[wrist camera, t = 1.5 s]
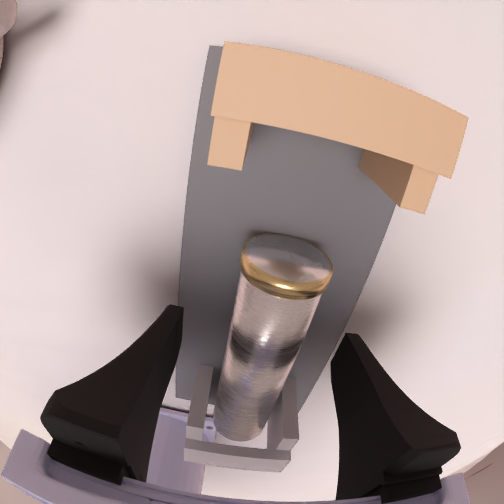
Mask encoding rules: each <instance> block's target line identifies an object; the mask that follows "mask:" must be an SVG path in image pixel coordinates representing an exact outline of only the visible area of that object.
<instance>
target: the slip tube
mask: <svg viewBox="0 0 504 504" xmlns="http://www.w3.org/2000/svg"><path fill="white" fill-rule="evenodd" d="M239 267H240V270H241V272H240V277H239V282H238V287H237V293H236V298H235V303H234V308H233V313H232V318H231V323H230V328H229V334H228V339H227V344H226V349H225V354H224V360H223V365H222V370H221V375H220V380H219V386H218V391H217V396H216V402H215V407H214V412H213V423H214V426H215V427H216V429H217V430H218V432H219V433H220V434H222V435H223V436H224V437H226V438H228V439H231V440H234V441H248V440H251V439H253V438H255V437H257V436H258V435H259V434H260V433H261V432H262V430H263V428H264V426H265V424H266V422H267V420H268V418H269V416H270V414H271V412H272V409H273V407H274V405H275V403H276V401H277V399H278V397H279V395H280V392H281V390H282V388H283V386H284V384H285V381H286V379H287V377H288V375H289V372H290V370H291V368H292V366H293V363H294V361H295V359H296V356H297V354H298V352H299V349H300V347H301V345H302V342H303V340H304V337H305V335H306V333H307V330H308V328H309V325H310V323H311V320H312V318H313V315H314V313H315V310H316V308H317V305H318V302H319V300H320V297H321V295H322V293H324V292H325V290H326V289H327V287H328V284H329V282H330V279H331V276H332V274H333V270H334V267H333V263H332V261H331V260H330V258H329V257H328V256H327V255H326V254H325V253H324V252H323V251H322V250H321V249H319V248H318V247H316V246H314V245H313V244H311V243H308V242H306V241H304V240H301V239H298V238H295V237H292V236H287V235H281V234H261V235H256V236H253V237H251V238H249V239H248V240H246V241H245V243H244V244H243V247H242V252H241V257H240V262H239Z"/></svg>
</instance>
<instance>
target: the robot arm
mask: <svg viewBox="0 0 504 504" xmlns="http://www.w3.org/2000/svg"><path fill="white" fill-rule="evenodd" d="M183 314H184V307H180V306H176V305H171V304H170V305H168V306H167V307H166V309H165V310H164V311H163V312H162V314H161V315H160V316H159V317H158V318H157V320H156V321H155V322H154V323H153V324H152V325H151V326H150V327H149V328H148V329H147V330H146V331H145V332H144V333H143V334H142V335H141V336H140V337H139V338H138V339H137V340H136V341H135V342H134V343H133V344H132V345H131V346H130V347H129V348H127V349H126V350H125V351H124V352H123V353H121V354H120V355H119V356H117V357H116V358H115V359H113V360H112V361H111V362H109V363H108V364H106V365H105V366H103V367H102V368H100V369H99V370H97V371H95V372H94V373H92V374H90V375H88V376H86V377H84V378H83V379H81V380H79V381H77V382H75V383H72V384H70V385H68V386H65V387H63V388H61V389H58V390H56V391H55V392H54V393H53V395H52V396H51V397H50V399H49V401H48V402H47V404H46V406H45V408H44V410H43V412H42V414H41V422H42V424H43V425H44V427H45V428H46V430H47V431H48V432H49V434H50V435H51V436H52V438H53V440H52V442H51V445H50V444H49V443H48V442H46V441H45V440H43V439H41V438H39V437H37V436H35V435H33V434H31V433H29V432H27V431H25V430H24V429H22V430H20V433H19V435H18V437H17V439H16V441H15V443H14V446H13V448H12V450H11V452H10V455H9V457H8V459H7V462H6V464H5V466H4V469H3V471H2V474H1V476H2V477H3V478H4V479H5V480H7V481H8V482H9V483H11V484H12V485H14V486H15V487H17V488H18V489H20V490H21V491H23V492H24V493H25V494H27V495H29V496H31V497H32V498H34V499H36V500H38V501H40V502H42V503H44V504H471V503H470V499H469V495H468V491H467V487H466V483H465V480H464V476H463V473H458V474H454V475H451V476H447V477H445V478H442V479H440V477H439V474H441V473H442V468H441V466H442V465H444V464H445V463H447V462H448V461H449V460H451V459H452V458H453V457H454V456H456V455H457V454H458V452H459V451H460V449H461V446H460V443H459V440H458V437H457V434H456V432H454V431H453V430H451V429H449V428H447V427H446V426H444V425H442V424H441V423H439V422H438V421H436V420H435V419H434V418H432V417H431V416H429V415H428V414H427V413H426V412H424V411H423V410H422V409H421V408H420V407H418V406H417V405H416V404H415V403H414V402H413V401H412V400H411V399H410V398H409V397H408V396H407V395H406V394H405V393H404V392H403V391H402V390H401V389H400V388H399V387H398V386H397V385H396V384H395V382H394V381H393V380H392V379H391V378H390V376H389V375H388V374H387V373H386V371H385V370H384V369H383V367H382V366H381V365H380V363H379V362H378V361H377V359H376V358H375V357H374V355H373V354H372V353H371V351H370V350H369V348H368V347H367V346H366V344H365V343H364V341H363V340H362V339H361V337H360V336H359V335H358V334H352V333H346V334H345V336H344V338H343V340H342V342H341V344H340V345H339V347H338V349H337V351H336V353H335V355H334V357H333V359H332V361H331V383H332V389H333V395H334V401H335V407H336V413H337V419H338V426H339V474H338V485H337V494H336V500H334V501H315V502H274V501H255V500H242V499H232V498H223V497H215V496H208V495H202V494H201V491H202V484H203V477H204V470H205V464H200V463H194V462H189V461H184V445H185V440H186V425H187V420H188V415H189V413H184V412H179V411H175V410H170V409H166V408H161V404H162V401H163V398H164V395H165V393H166V390H167V387H168V384H169V382H170V379H171V376H172V373H173V371H174V368H175V365H176V362H177V359H178V355H179V351H180V347H181V342H182V332H183ZM215 433H216V427H215V426H214V423H213V418H211V417H206V418H205V424H204V430H203V436H202V441H205V442H211V443H213V442H214V438H215Z"/></svg>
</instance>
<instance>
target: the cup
mask: <svg viewBox="0 0 504 504" xmlns="http://www.w3.org/2000/svg"><path fill="white" fill-rule="evenodd" d="M16 13H17V2H16V0H0V68H1V63H2V57H3V46H4V45H3V35H4V34H6V33H7V32H8V31H9V30H10V29H11V28H12V26H13V25H14V23H15V20H16Z"/></svg>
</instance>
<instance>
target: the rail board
mask: <svg viewBox="0 0 504 504" xmlns="http://www.w3.org/2000/svg"><path fill="white" fill-rule="evenodd" d="M467 122H468V117H466V116H465V115H463V114H461V113H459V112H457V111H455V110H453V109H451V108H449V107H447V106H445V105H443V104H441V103H439V102H437V101H435V100H433V99H430V98H428V97H426V96H424V95H422V94H419V93H417V92H415V91H412V90H410V89H407V88H405V87H403V86H400V85H398V84H395V83H392V82H390V81H387V80H385V79H382V78H379V77H376V76H373V75H371V74H368V73H365V72H362V71H359V70H356V69H352V68H349V67H346V66H343V65H339V64H336V63H332V62H329V61H325V60H321V59H317V58H314V57H309V56H305V55H301V54H297V53H292V52H288V51H283V50H278V49H272V48H267V47H261V46H255V45H249V44H242V43H235V42H227V41H224V46H223V47H219V46H209V51H208V56H207V61H206V67H205V72H204V77H203V83H202V89H201V95H200V101H199V107H198V113H197V119H196V126H195V133H194V140H193V147H192V155H191V162H190V170H189V178H188V187H187V196H186V205H185V215H184V226H183V237H182V249H181V262H180V277H179V293H178V306H180V307H184V314H183V332H182V342H181V347H180V351H179V355H178V359H177V362H176V397H177V398H182V399H186V400H191V405H190V410H189V415H188V420H187V425H186V440H185V445H184V461H189V462H194V463H200V464H206V465H212V466H219V467H227V468H235V469H244V470H254V471H268V472H281V471H282V470H283V469H284V468H285V467H286V465H287V464H288V463H289V462H290V461H291V453H290V451H291V449H292V448H293V447H294V445H295V444H296V443H297V441H298V440H299V429H298V412H299V411H300V409H301V407H302V406H303V404H304V402H305V401H306V399H307V397H308V395H309V394H310V392H311V390H312V388H313V387H314V385H315V383H316V381H317V380H318V378H319V376H320V374H321V372H322V370H323V369H324V367H325V365H326V363H327V361H328V359H329V357H330V355H331V353H332V352H333V350H334V348H335V346H336V344H337V342H338V340H339V338H340V336H341V334H342V332H343V330H344V328H345V326H346V324H347V322H348V319H349V317H350V315H351V313H352V311H353V309H354V307H355V305H356V302H357V300H358V298H359V296H360V294H361V291H362V289H363V287H364V285H365V282H366V280H367V278H368V275H369V273H370V271H371V268H372V266H373V263H374V261H375V259H376V256H377V254H378V251H379V249H380V246H381V244H382V241H383V238H384V236H385V233H386V231H387V228H388V225H389V223H390V220H391V217H392V214H393V212H394V209H395V206H396V204H397V205H398V206H399V207H401V208H405V209H408V210H412V211H415V212H418V213H422V214H425V211H426V209H427V206H428V203H429V200H430V198H431V195H432V192H433V189H434V186H435V183H436V180H437V177H438V174H439V175H442V176H444V177H447V178H449V179H451V177H452V174H453V171H454V168H455V165H456V161H457V158H458V155H459V151H460V148H461V144H462V141H463V137H464V133H465V130H466V126H467ZM261 234H281V235H287V236H292V237H295V238H298V239H301V240H304V241H306V242H308V243H311V244H313V245H314V246H316V247H318V248H319V249H321V250H322V251H323V252H324V253H325V254H326V255H327V256H328V257H329V258H330V260H331V261H332V263H333V267H334V270H333V274H332V276H331V279H330V282H329V284H328V287H327V289H326V290H325V292H324V293H322V295H321V297H320V300H319V302H318V305H317V308H316V310H315V313H314V315H313V318H312V320H311V323H310V325H309V328H308V330H307V333H306V335H305V337H304V340H303V342H302V345H301V347H300V349H299V352H298V354H297V356H296V359H295V361H294V363H293V366H292V368H291V370H290V372H289V375H288V377H287V379H286V381H285V384H284V386H283V388H282V390H281V392H280V395H279V397H278V399H277V401H276V403H275V405H274V407H273V409H272V412H271V414H270V416H269V418H268V433H267V449H258V448H248V447H239V446H231V445H224V444H217V443H211V442H205V441H202V436H203V430H204V424H205V418H206V411H207V405H208V404H213V405H215V402H216V396H217V391H218V386H219V380H220V375H221V370H222V365H223V360H224V354H225V349H226V344H227V339H228V334H229V328H230V323H231V318H232V313H233V308H234V303H235V298H236V293H237V287H238V282H239V277H240V272H241V270H240V267H239V262H240V257H241V252H242V247H243V244H244V243H245V241H246V240H248V239H249V238H251V237H253V236H256V235H261Z"/></svg>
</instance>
